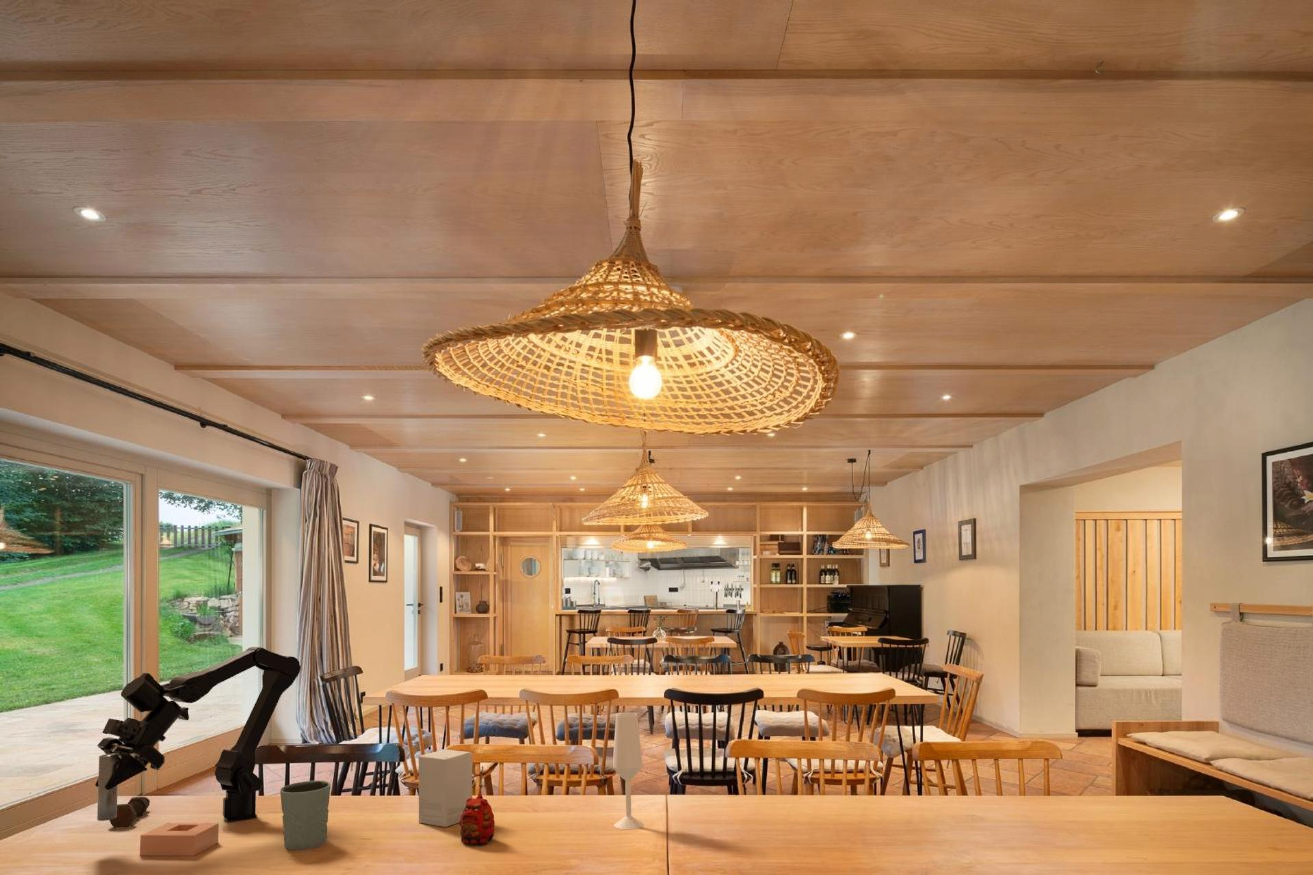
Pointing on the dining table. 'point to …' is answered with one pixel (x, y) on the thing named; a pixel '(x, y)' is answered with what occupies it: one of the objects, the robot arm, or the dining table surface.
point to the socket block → (179, 839)
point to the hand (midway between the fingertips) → (101, 787)
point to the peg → (106, 797)
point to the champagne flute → (627, 760)
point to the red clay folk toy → (477, 819)
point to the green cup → (305, 814)
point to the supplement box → (444, 786)
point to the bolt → (130, 811)
